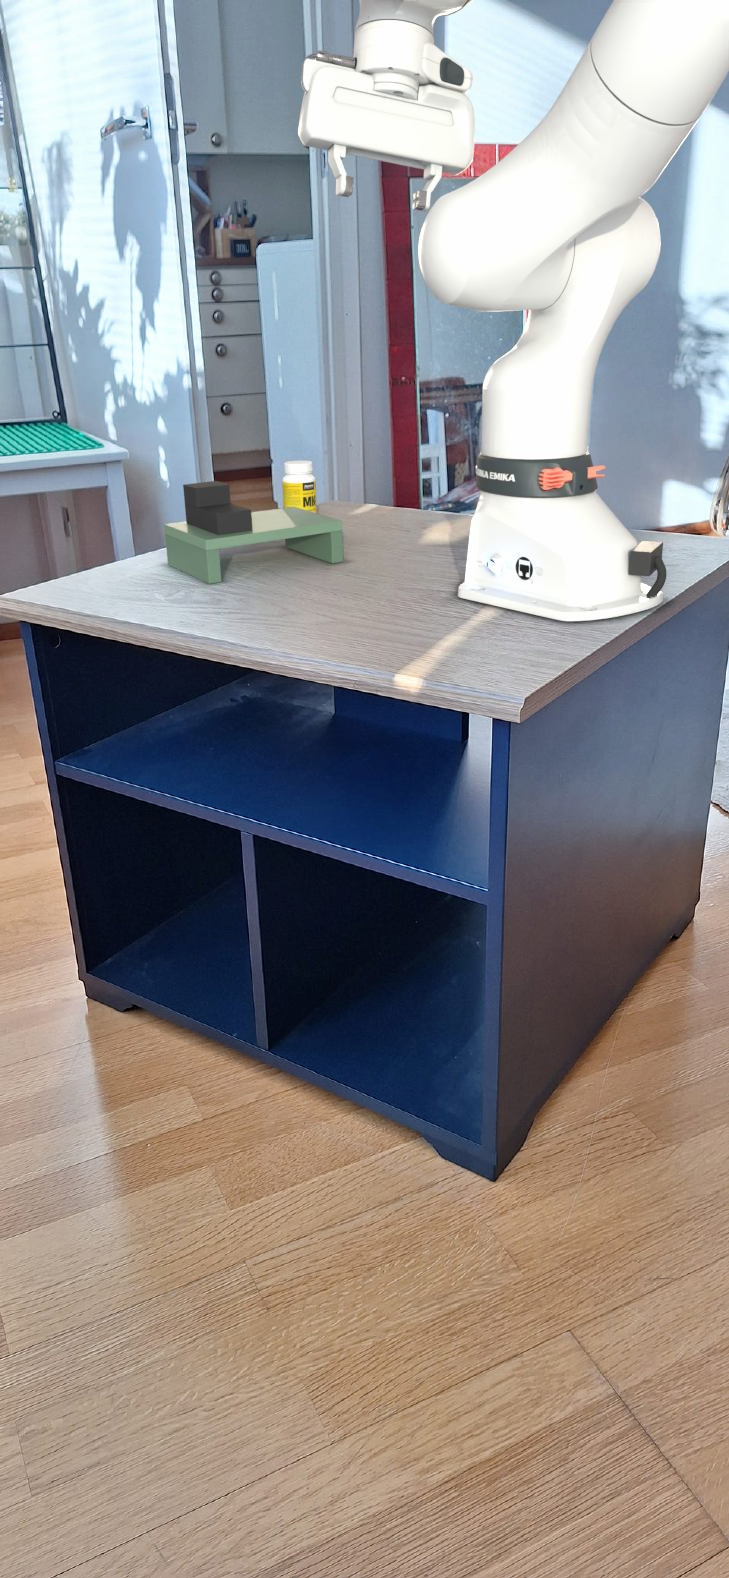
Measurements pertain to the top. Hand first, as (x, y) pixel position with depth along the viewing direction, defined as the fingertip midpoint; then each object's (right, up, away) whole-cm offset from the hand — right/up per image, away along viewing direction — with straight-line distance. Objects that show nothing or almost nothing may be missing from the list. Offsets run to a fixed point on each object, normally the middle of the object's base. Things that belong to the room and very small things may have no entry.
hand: (382, 202), depth 127 cm
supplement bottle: (-11, -29, +32) cm, 45 cm away
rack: (-15, -39, +9) cm, 43 cm away
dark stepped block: (-19, -36, +5) cm, 41 cm away
